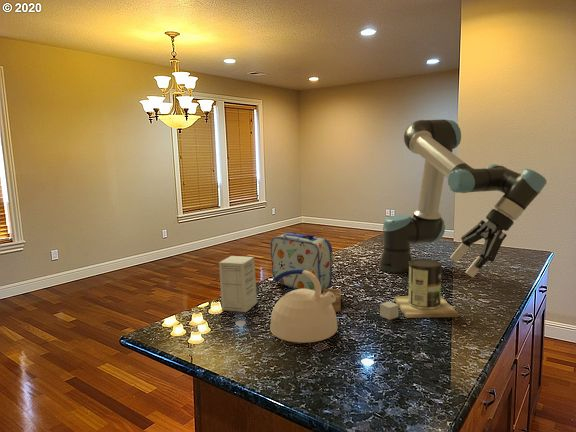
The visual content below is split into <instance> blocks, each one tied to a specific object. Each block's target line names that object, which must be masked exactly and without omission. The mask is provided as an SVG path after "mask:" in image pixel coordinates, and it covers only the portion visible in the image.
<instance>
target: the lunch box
mask: <svg viewBox="0 0 576 432" xmlns="http://www.w3.org/2000/svg"><path fill="white" fill-rule="evenodd" d="M270 258H271V270H272V271H271V272H272V276H273V279H274V278H275V277H276V276H277V275H279V274H281V273H283V272H286V271H290V270H297V269H300V270H306V271H309V272H311V273H313V274H314V275H315V276H316V277H317V279H318V280H319V282H320V285H321V291H323V289H331V287H332V282H333V281H332V280H333V265H334V263H335V262H336V260H335V256H334V254H333V246H332V244H331V242H330V241H329V240H327V238H324V237H321V236H320V237H319V236H315V235H314V234H307V235H306V234H302V233H298V232H290V231H288V232H284V233H283V234H279V235H277V236H273V237H272V238H271V240H270ZM276 282H277V283H278V284H281V285H285V287H286V286H287V287H289V288H290V289H292V290H297V289H310V290H314V291H315V286H314V283H313V282H312V280H311V279H310V278H309V277H308V276H306V275H304V274H291V275H287V276H285V277H283V278H281V279H280V280H279V281H276Z"/></svg>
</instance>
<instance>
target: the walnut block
mask: <svg viewBox="0 0 576 432" xmlns="http://www.w3.org/2000/svg"><path fill="white" fill-rule="evenodd" d="M332 293H333V294H334V295H335V297H336V301H335V302H333V303H332V306H333V308H334V311H335V313H337V312H341V311H342V310H341V301H342V300H341V297H342V296H341V297H340V296H339V295H337V294H336V293H335V292H332ZM321 294H322V295H323V296H324V295H325V294H327V293H324V294H323V293H321Z"/></svg>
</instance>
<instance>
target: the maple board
mask: <svg viewBox="0 0 576 432" xmlns="http://www.w3.org/2000/svg"><path fill="white" fill-rule="evenodd" d="M408 300H409V295H405V296H403V295H401V296H399V295H397V296H394V301H395V304H397V305H399V309H400V310H401V312H402V314H403V315H404V317H405V318H406V319H408V318H409V319H416V318H420V319H421V318H422V317H425V318H459V312H458V311H457V310H456V309H455V308H454V307H453V306H452V305H451V304H449V302H447V301H446V299H445V298H444V297H443V296H441V297H440V304H441V306H440V307H439V308H437V309H430V310H426V309H418V308H415V307H412V306H410V305H409V304H408Z"/></svg>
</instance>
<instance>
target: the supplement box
mask: <svg viewBox="0 0 576 432" xmlns="http://www.w3.org/2000/svg"><path fill="white" fill-rule="evenodd" d="M255 262H256V260H255V256H243V255H242V256H241V255H240V256H239V255H238V256H236V255H230V256H228V257H227V258H225V259H222V260H221V261H219V263H218V266H219V269H218V270H219V281H220V282H219V283H220V284H219V285H220V297H221V299H220V300H221V301H220V302H221V310H222V311H229V312H241V313H247V312H248V311H250V310H251V309H252V308H253V307H254V306H255V305H257V303H258V297H257V280H256V265H255V264H256V263H255Z"/></svg>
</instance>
